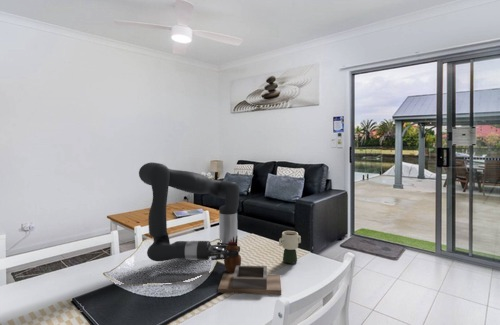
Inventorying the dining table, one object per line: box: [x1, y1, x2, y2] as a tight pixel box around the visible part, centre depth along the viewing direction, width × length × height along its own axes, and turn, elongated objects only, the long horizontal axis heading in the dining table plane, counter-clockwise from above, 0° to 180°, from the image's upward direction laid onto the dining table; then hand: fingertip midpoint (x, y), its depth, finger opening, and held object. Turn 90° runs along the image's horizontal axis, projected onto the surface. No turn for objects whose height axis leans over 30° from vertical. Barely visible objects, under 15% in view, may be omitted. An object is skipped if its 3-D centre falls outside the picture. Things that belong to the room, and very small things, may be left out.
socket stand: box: [217, 265, 282, 296], centre depth 105 cm, size 12×22×5 cm, turn 86°
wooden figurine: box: [223, 235, 242, 274], centre depth 116 cm, size 7×6×15 cm
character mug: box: [278, 230, 302, 264], centre depth 126 cm, size 11×7×13 cm, turn 113°
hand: (239, 251), depth 116 cm, fingers closed on wooden figurine, 4 cm apart
